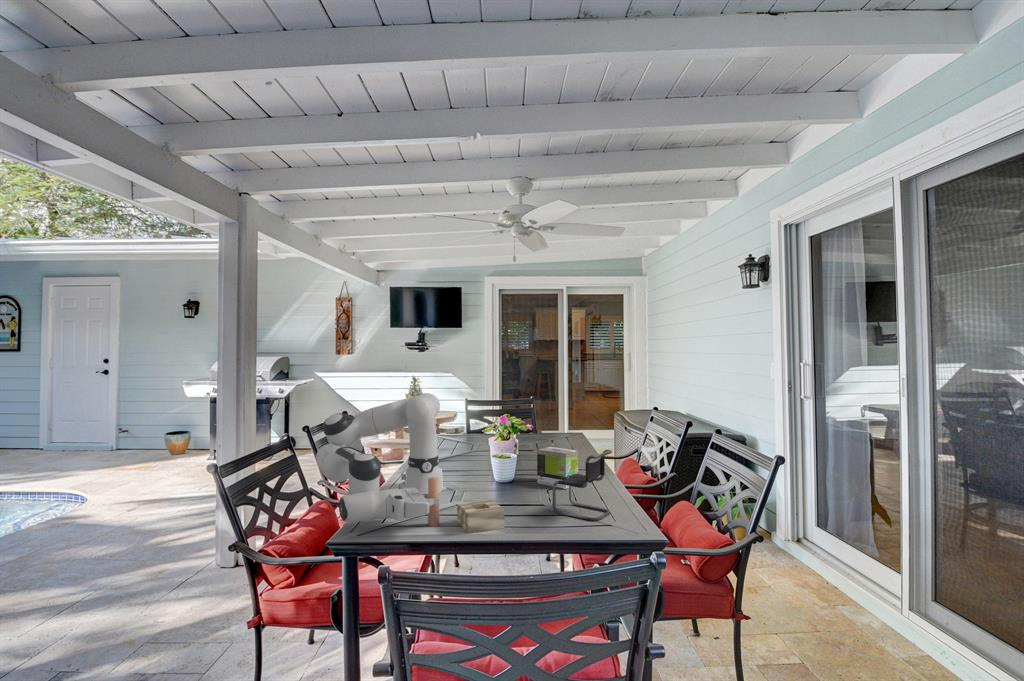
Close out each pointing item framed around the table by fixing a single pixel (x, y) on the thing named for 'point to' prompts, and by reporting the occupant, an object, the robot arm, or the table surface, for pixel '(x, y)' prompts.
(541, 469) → the tea box
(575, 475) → the chair
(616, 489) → the table surface
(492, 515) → the socket block
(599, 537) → the table surface
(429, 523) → the dowel
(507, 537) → the table surface
